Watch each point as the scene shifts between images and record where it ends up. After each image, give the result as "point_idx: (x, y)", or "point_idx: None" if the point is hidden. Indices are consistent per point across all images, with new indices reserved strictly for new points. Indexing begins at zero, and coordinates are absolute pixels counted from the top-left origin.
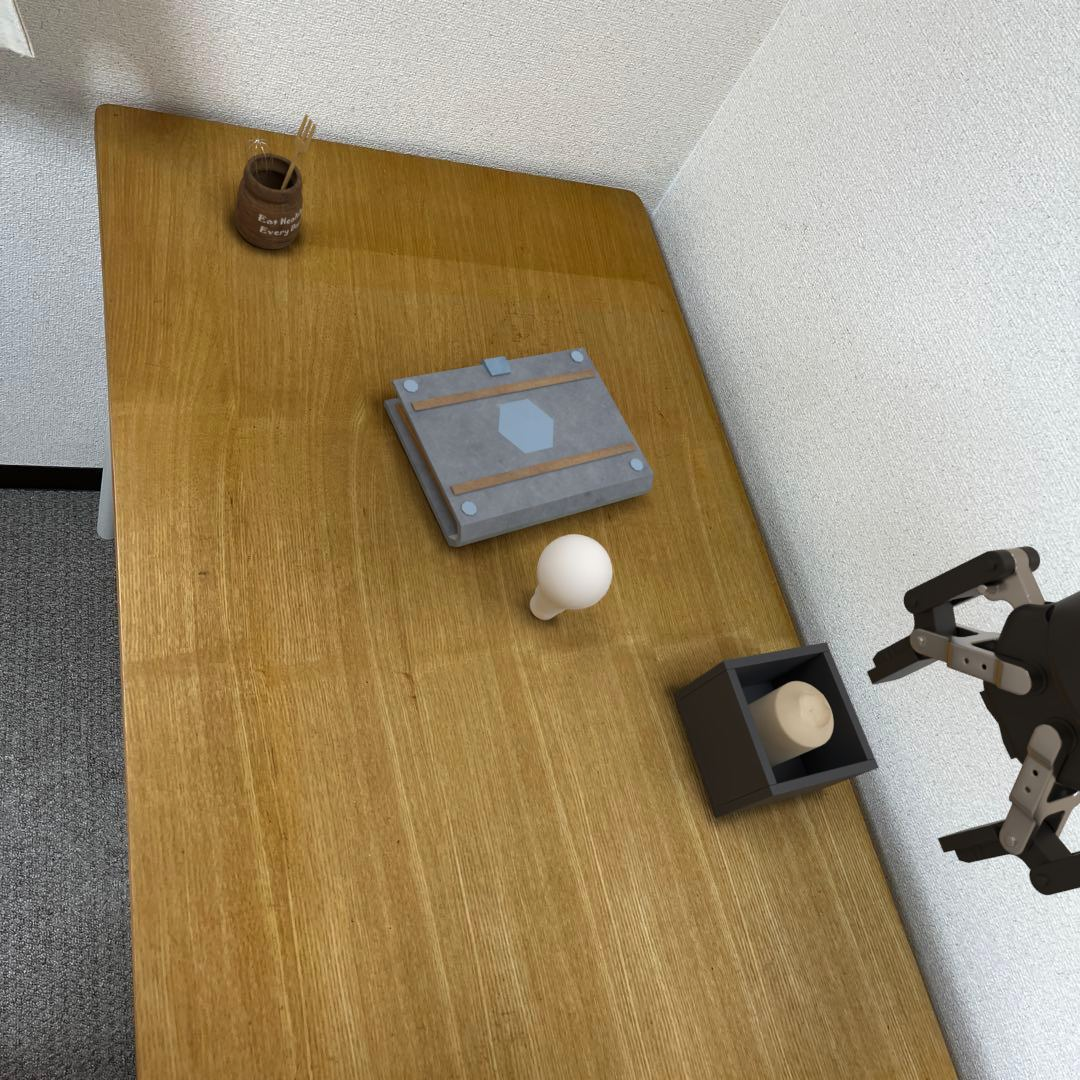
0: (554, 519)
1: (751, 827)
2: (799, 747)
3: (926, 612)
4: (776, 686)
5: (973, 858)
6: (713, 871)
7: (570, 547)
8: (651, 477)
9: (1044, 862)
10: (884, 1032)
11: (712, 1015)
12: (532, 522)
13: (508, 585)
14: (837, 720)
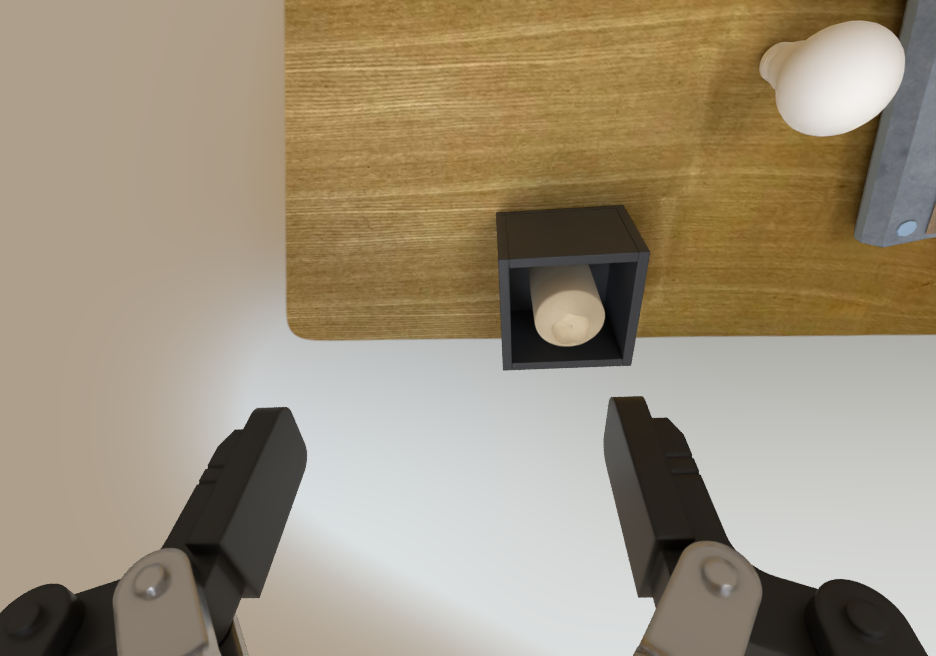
0: None
1: (481, 245)
2: (538, 303)
3: (807, 636)
4: None
5: (217, 460)
6: (450, 195)
7: (893, 64)
8: (878, 243)
9: (76, 639)
10: (312, 304)
11: (329, 154)
12: None
13: (822, 20)
14: (554, 350)
